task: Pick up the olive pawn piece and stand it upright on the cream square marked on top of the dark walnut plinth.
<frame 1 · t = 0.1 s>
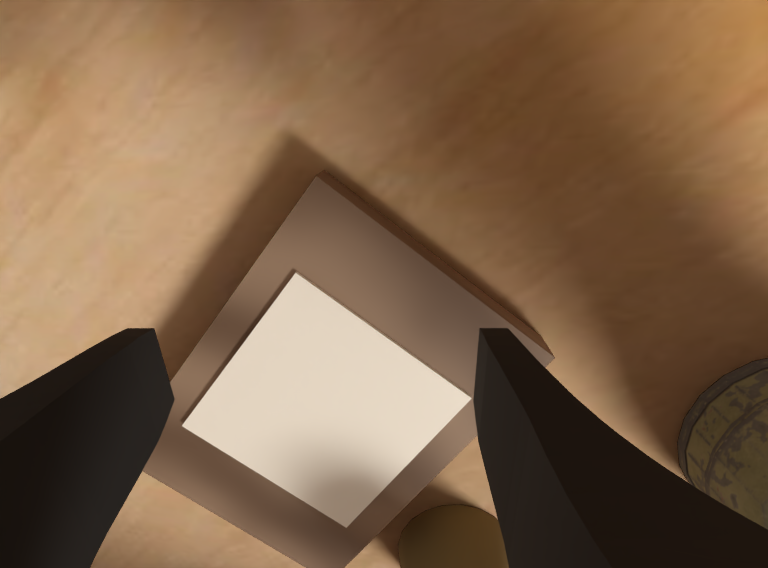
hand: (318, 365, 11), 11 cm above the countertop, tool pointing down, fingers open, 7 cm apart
olive pawn piece: (453, 546, 26), on the countertop
walnut plinth: (330, 385, 23), on the countertop
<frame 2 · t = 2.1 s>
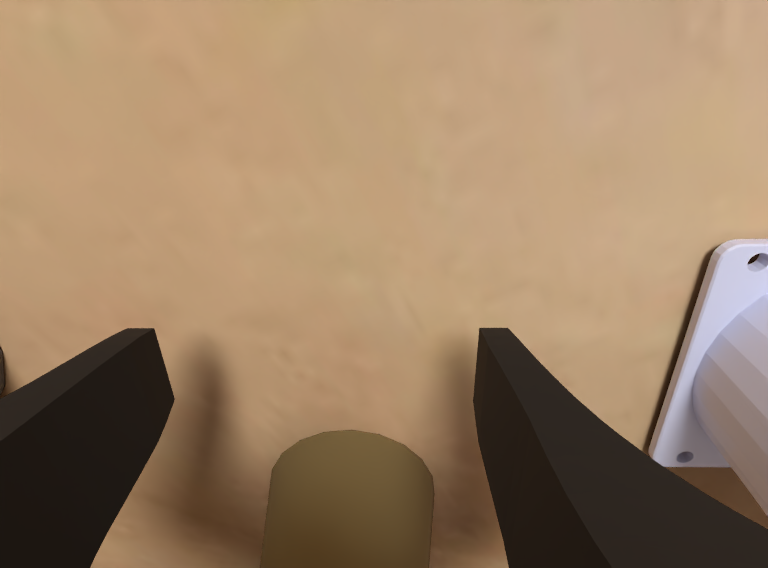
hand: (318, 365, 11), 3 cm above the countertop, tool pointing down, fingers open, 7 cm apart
olive pawn piece: (352, 486, 18), on the countertop
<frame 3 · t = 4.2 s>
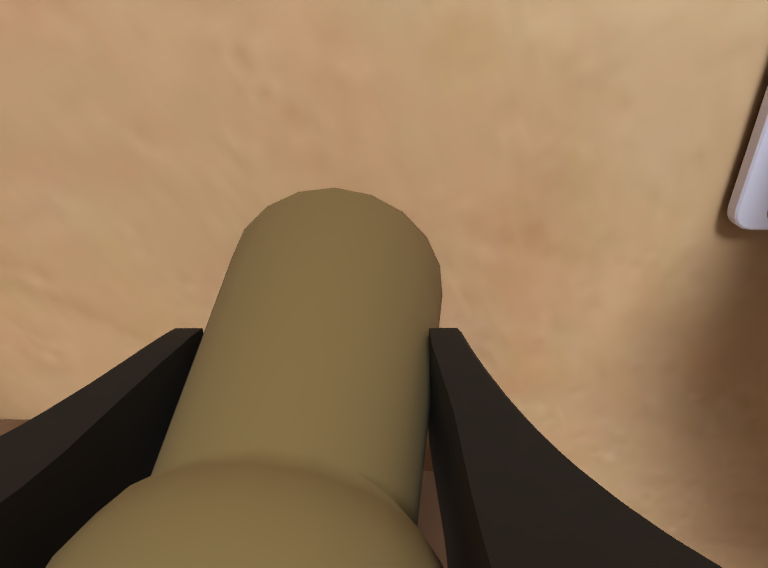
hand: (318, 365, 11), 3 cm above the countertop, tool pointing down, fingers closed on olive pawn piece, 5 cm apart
olive pawn piece: (337, 287, 14), on the countertop, touching gripper
walnut plinth: (253, 534, 19), on the countertop
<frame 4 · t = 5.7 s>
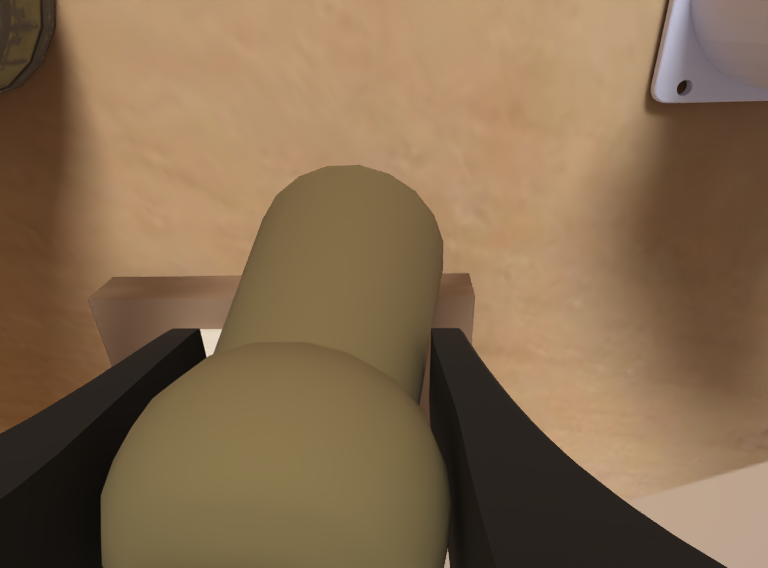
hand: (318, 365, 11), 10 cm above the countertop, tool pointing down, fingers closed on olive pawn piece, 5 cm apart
olive pawn piece: (351, 254, 16), point 5 cm above the countertop, touching gripper
walnut plinth: (302, 381, 25), on the countertop
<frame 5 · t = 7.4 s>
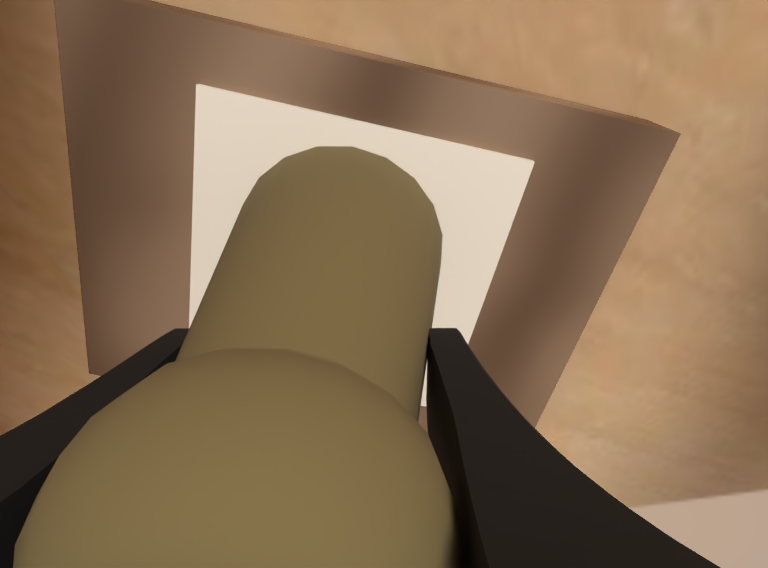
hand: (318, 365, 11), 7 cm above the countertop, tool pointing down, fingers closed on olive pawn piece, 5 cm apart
olive pawn piece: (340, 246, 15), point 2 cm above the countertop, touching gripper, walnut plinth
walnut plinth: (347, 244, 17), on the countertop
when the fingers open (7 cm above the countertop, at t = 7.5 s): olive pawn piece stays where it is, resting on walnut plinth.
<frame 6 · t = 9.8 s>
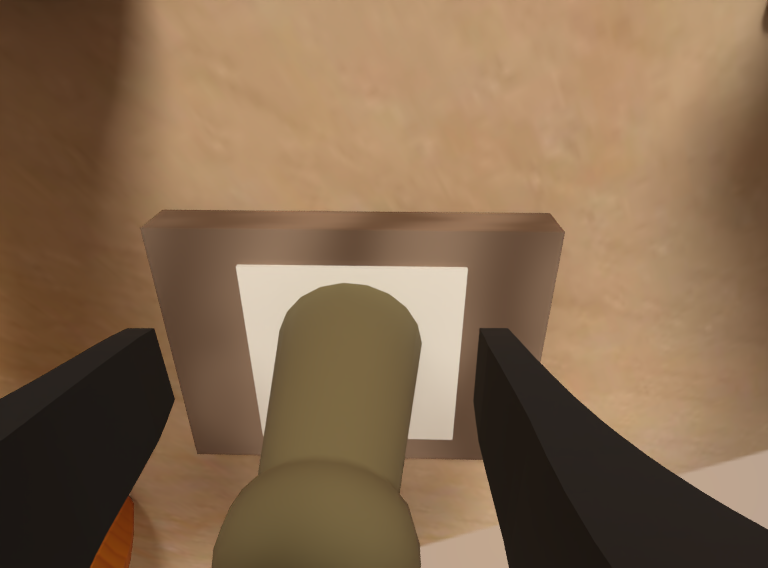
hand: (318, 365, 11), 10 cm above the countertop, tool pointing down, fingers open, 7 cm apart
olive pawn piece: (350, 342, 21), point 2 cm above the countertop, touching walnut plinth
carrot: (129, 494, 29), on the countertop
walnut plinth: (358, 332, 23), on the countertop
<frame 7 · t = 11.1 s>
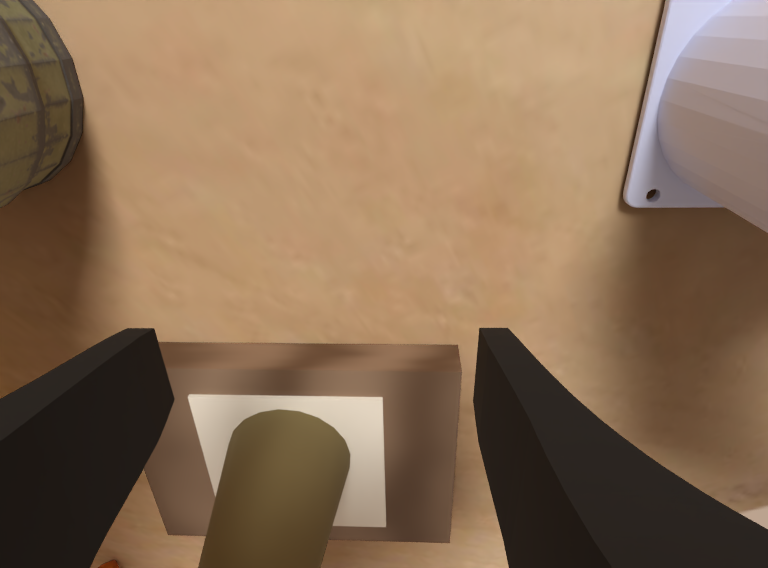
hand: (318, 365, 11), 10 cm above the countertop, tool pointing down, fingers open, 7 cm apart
olive pawn piece: (290, 452, 24), point 2 cm above the countertop, touching walnut plinth
carrot: (115, 558, 33), on the countertop
walnut plinth: (303, 434, 26), on the countertop
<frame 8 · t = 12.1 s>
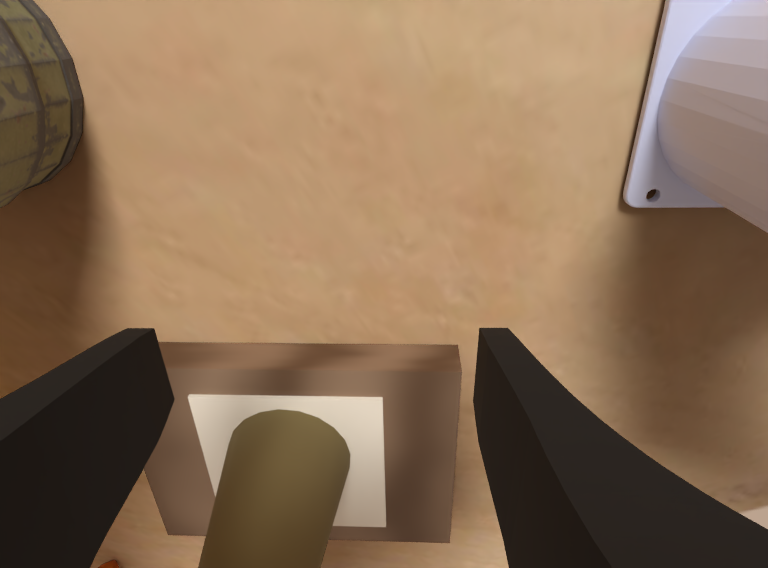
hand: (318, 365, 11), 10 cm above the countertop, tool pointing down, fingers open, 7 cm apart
olive pawn piece: (290, 452, 24), point 2 cm above the countertop, touching walnut plinth
carrot: (115, 558, 33), on the countertop
walnut plinth: (303, 434, 26), on the countertop
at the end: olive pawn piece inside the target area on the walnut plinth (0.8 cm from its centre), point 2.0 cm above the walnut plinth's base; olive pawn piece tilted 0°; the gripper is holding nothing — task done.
